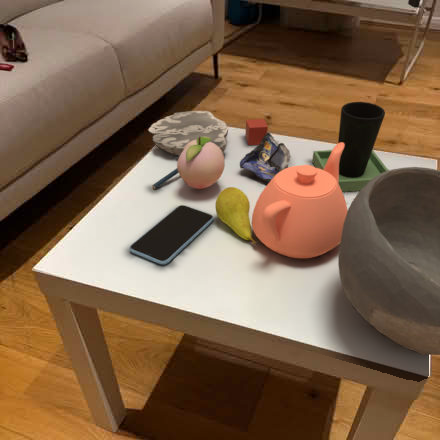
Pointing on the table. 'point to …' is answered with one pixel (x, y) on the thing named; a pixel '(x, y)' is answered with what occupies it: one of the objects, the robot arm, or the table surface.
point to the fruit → (235, 211)
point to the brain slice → (188, 130)
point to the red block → (255, 131)
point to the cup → (358, 136)
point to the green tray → (352, 184)
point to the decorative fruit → (201, 163)
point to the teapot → (302, 210)
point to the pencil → (165, 179)
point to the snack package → (267, 158)
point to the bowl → (396, 256)
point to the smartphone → (171, 234)
